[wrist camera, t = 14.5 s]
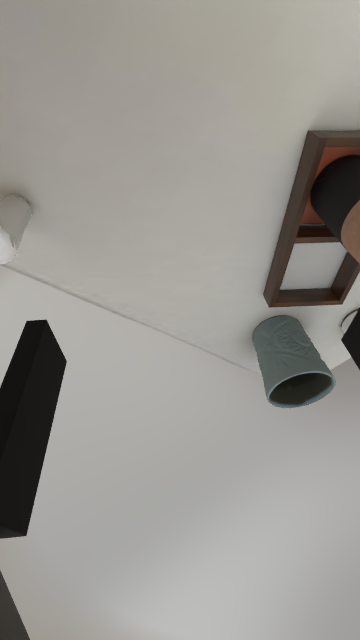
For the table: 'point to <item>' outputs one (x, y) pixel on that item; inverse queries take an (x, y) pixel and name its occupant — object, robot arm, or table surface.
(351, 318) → the can
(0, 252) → the milkshake
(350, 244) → the travel mug
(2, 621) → the robot arm
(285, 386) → the green tapered cup
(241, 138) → the table surface
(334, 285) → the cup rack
